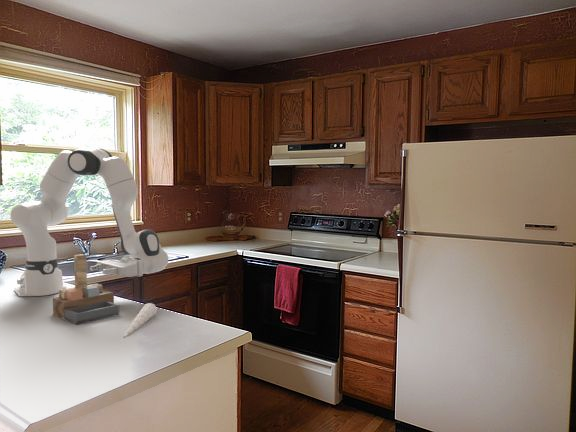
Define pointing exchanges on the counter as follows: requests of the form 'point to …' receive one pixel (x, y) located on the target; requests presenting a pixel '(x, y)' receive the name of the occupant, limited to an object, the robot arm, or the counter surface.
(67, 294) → the salmon orange block
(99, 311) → the bin
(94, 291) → the pale blue-grey cube
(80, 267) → the wooden inverted t block
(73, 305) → the wide wooden plinth
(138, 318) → the unicorn horn
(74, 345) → the counter surface
